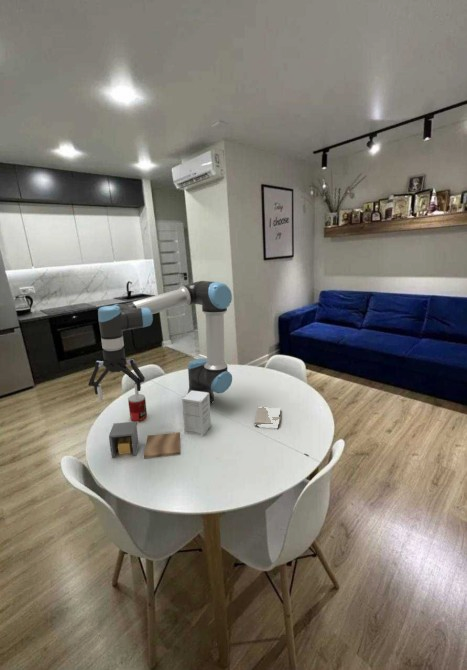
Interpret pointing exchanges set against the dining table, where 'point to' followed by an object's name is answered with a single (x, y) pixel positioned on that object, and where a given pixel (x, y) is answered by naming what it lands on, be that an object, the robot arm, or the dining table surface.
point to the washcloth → (263, 417)
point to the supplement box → (196, 412)
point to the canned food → (137, 408)
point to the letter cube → (125, 445)
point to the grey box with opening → (123, 435)
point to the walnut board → (162, 445)
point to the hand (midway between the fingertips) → (119, 400)
